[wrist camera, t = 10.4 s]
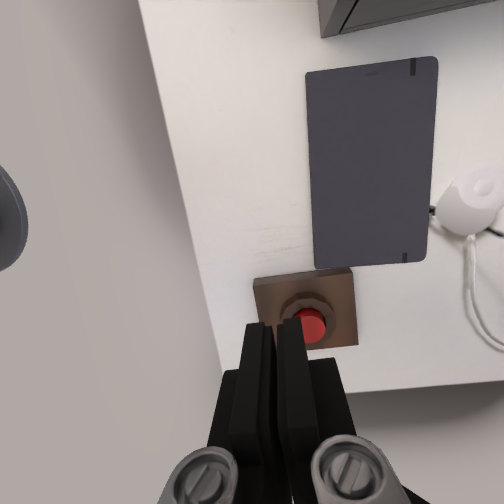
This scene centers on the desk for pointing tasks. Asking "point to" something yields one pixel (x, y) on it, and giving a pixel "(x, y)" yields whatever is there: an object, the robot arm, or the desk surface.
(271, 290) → the control block
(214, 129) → the desk surface
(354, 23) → the oven
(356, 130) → the notebook
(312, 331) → the button
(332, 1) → the oven door
